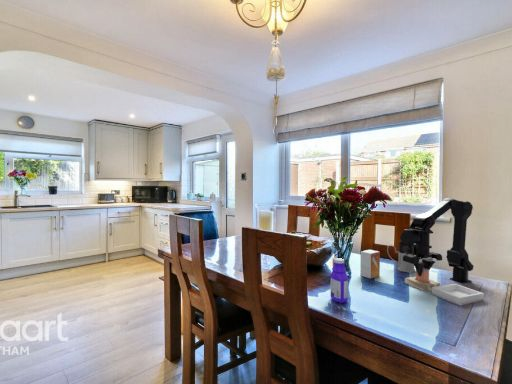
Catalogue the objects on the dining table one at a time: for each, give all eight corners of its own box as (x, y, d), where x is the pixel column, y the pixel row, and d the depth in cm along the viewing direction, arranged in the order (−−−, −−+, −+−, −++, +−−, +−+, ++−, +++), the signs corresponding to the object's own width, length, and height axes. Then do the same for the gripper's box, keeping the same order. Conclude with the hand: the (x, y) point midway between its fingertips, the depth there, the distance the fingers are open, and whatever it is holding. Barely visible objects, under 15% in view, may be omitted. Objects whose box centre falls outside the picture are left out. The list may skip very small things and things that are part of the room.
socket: (419, 280, 137) (419, 275, 137) (440, 288, 127) (440, 283, 127) (405, 283, 134) (405, 278, 134) (425, 291, 124) (425, 285, 124)
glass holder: (416, 273, 149) (417, 245, 149) (388, 270, 154) (388, 243, 154) (413, 268, 158) (413, 242, 157) (386, 266, 162) (386, 240, 162)
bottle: (350, 302, 113) (350, 260, 112) (340, 305, 110) (340, 262, 110) (338, 296, 119) (338, 256, 119) (327, 298, 117) (327, 257, 116)
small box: (370, 278, 141) (370, 253, 140) (360, 275, 146) (360, 251, 146) (380, 276, 145) (380, 251, 145) (369, 272, 150) (369, 249, 150)
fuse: (420, 281, 133) (420, 266, 133) (429, 284, 129) (429, 269, 129) (415, 281, 132) (415, 267, 132) (424, 285, 128) (424, 270, 128)
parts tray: (454, 290, 125) (454, 283, 125) (484, 300, 113) (484, 293, 113) (431, 294, 120) (431, 287, 120) (459, 305, 109) (459, 297, 109)
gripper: (422, 238, 141) (422, 268, 141) (393, 241, 135) (393, 272, 135) (443, 242, 130) (442, 275, 130) (412, 245, 124) (412, 280, 124)
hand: (422, 275), depth 130 cm, fingers closed on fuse, 3 cm apart
